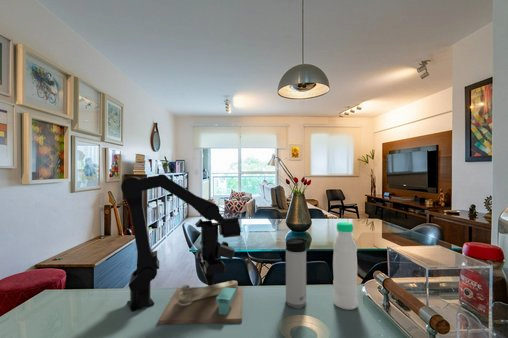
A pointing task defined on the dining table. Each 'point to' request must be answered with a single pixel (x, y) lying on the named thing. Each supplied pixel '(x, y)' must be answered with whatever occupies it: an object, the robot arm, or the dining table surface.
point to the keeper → (222, 300)
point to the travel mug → (296, 272)
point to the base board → (201, 310)
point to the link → (203, 291)
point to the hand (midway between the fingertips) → (209, 285)
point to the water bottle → (345, 268)
